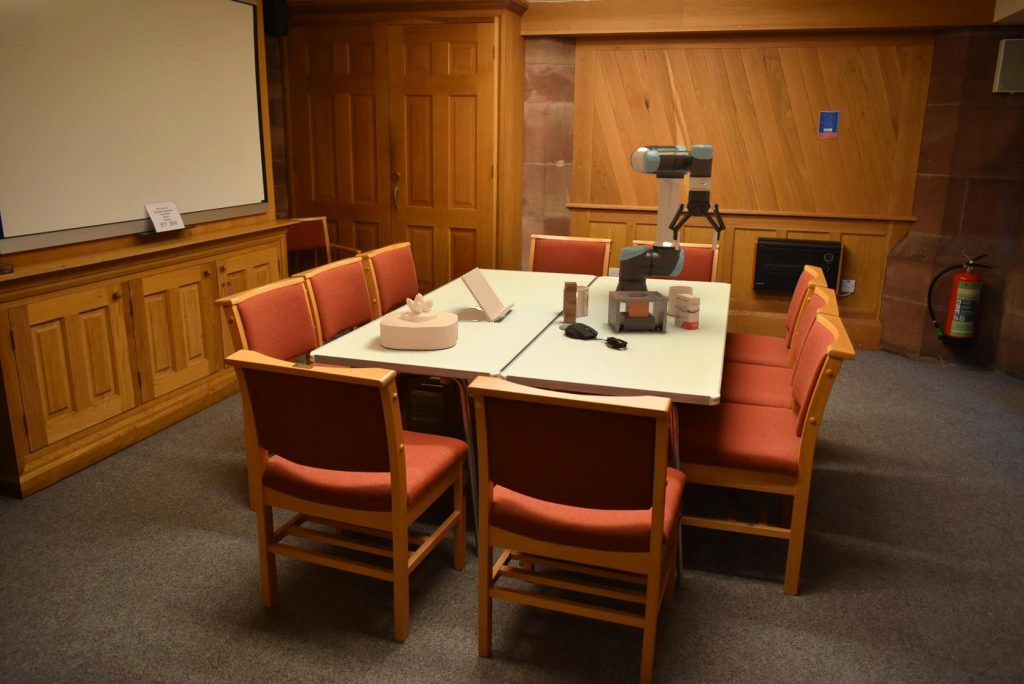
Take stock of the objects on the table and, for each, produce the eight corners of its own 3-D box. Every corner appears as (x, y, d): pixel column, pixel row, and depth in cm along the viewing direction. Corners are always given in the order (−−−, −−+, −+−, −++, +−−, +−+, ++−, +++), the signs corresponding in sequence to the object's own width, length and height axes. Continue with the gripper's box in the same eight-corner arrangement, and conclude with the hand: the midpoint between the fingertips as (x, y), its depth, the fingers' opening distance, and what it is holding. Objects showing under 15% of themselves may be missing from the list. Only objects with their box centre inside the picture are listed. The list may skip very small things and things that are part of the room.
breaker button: (625, 314, 284) (625, 297, 283) (644, 314, 284) (644, 297, 283) (628, 317, 277) (629, 301, 276) (648, 317, 278) (649, 301, 276)
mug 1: (594, 315, 304) (595, 287, 301) (575, 319, 296) (576, 290, 293) (573, 311, 311) (574, 284, 308) (554, 315, 302) (554, 287, 300)
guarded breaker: (607, 323, 289) (609, 291, 286) (655, 323, 290) (657, 291, 287) (615, 333, 274) (616, 299, 271) (665, 333, 275) (667, 299, 272)
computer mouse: (574, 332, 276) (574, 319, 275) (635, 347, 255) (635, 333, 254) (557, 335, 270) (558, 322, 269) (618, 351, 250) (619, 336, 249)
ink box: (699, 328, 282) (701, 296, 279) (688, 329, 280) (690, 297, 277) (684, 324, 290) (686, 293, 287) (673, 325, 288) (675, 293, 285)
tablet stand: (455, 320, 293) (455, 275, 289) (471, 308, 316) (471, 266, 312) (502, 323, 289) (502, 277, 285) (514, 310, 313) (515, 268, 309)
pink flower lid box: (454, 349, 249) (453, 300, 245) (376, 348, 249) (374, 299, 246) (459, 332, 273) (459, 287, 270) (389, 331, 274) (387, 286, 270)
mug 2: (688, 318, 300) (690, 290, 297) (665, 316, 303) (667, 288, 301) (694, 313, 310) (696, 285, 308) (672, 311, 314) (674, 283, 311)
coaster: (558, 325, 284) (558, 324, 284) (579, 325, 285) (579, 324, 285) (560, 330, 277) (560, 329, 277) (582, 330, 277) (582, 329, 277)
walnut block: (563, 321, 292) (564, 281, 289) (574, 321, 293) (575, 281, 289) (564, 323, 288) (566, 283, 285) (575, 323, 289) (576, 283, 285)
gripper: (667, 190, 271) (664, 250, 276) (737, 190, 272) (732, 250, 277) (662, 189, 278) (658, 248, 283) (730, 189, 280) (726, 248, 285)
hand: (695, 249), depth 280 cm, fingers open, 13 cm apart
